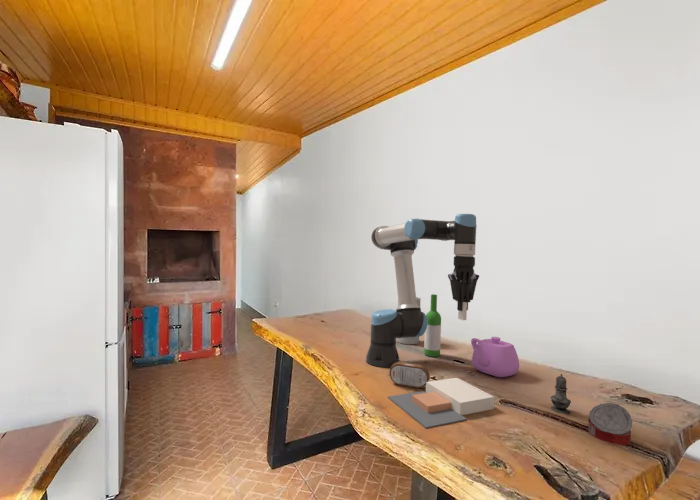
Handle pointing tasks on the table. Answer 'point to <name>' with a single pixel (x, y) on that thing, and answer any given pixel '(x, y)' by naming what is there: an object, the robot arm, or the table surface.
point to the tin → (409, 374)
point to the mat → (422, 416)
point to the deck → (461, 395)
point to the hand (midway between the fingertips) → (462, 319)
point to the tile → (431, 402)
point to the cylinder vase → (411, 340)
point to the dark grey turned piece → (560, 396)
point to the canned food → (610, 424)
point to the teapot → (495, 357)
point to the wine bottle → (433, 330)
